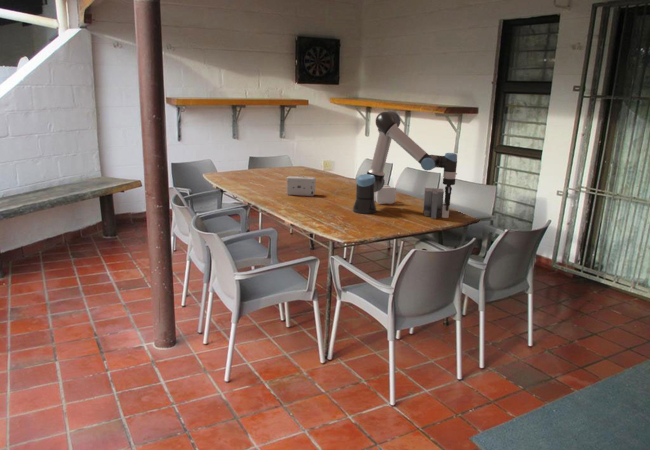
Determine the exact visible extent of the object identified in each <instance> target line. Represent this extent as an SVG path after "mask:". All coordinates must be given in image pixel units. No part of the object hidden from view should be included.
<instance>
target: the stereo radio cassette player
mask: <svg viewBox="0 0 650 450" xmlns="http://www.w3.org/2000/svg"><path fill="white" fill-rule="evenodd" d="M289 170H290V171H293V172H294V173H295V174H297V175H299V176H295V175H294V176H293V175H289V176H287V177H286V194H287V195H288V196H304V197H305V196H308V197H313V196H314V195H315V194H316V185H317V184H316V183H317V182H316V181H317V179H316V177H315V176H313V177H312V176H304V175H302V174H300V173H299V172H296V171H294V169H293V170H292V169H290V168H289Z"/></svg>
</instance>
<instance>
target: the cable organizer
mask: <svg viewBox="0 0 650 450" xmlns="http://www.w3.org/2000/svg"><path fill="white" fill-rule="evenodd" d="M396 195H397V188H396V187H393V186H390V185H388V184H384V186H383V187H382V189H381V190H379V191H377V192H374V202H375V203H377V204H379V205H385V204H388V205H391V204H394V203H396V198H397V196H396Z"/></svg>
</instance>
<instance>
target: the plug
mask: <svg viewBox="0 0 650 450" xmlns="http://www.w3.org/2000/svg"><path fill="white" fill-rule="evenodd" d="M444 204H445V203H443V207H442V213H436V218H443V219H444V218H445V219H446V218H447V219H449V216H445V215H444V211H445V205H444ZM423 213H424V214H423V216H424V217H431V213H430V212H429V211H425V212H423Z"/></svg>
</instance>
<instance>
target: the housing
mask: <svg viewBox="0 0 650 450" xmlns="http://www.w3.org/2000/svg"><path fill="white" fill-rule="evenodd" d="M423 190H424V191H423V204H422V210H423V213H424V212H425V211H429V213H431V216H430V219H433V220H436V219H437V217H436V213H442V208H443V204H444V196H445V190H444V189H443V188H437V187H436V188H434V187H424V189H423Z"/></svg>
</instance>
